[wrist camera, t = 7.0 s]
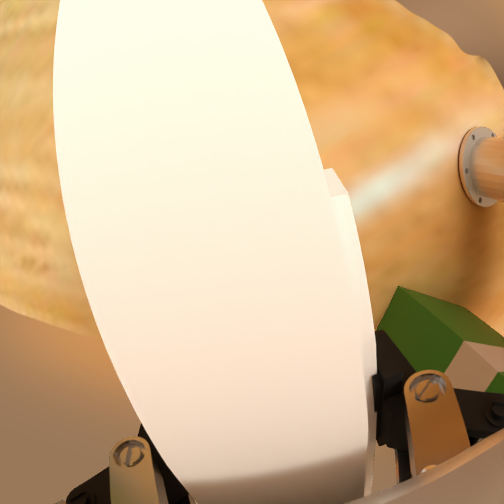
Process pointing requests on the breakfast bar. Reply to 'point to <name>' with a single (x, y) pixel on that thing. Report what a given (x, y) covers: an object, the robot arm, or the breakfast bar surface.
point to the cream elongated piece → (216, 249)
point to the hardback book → (446, 340)
